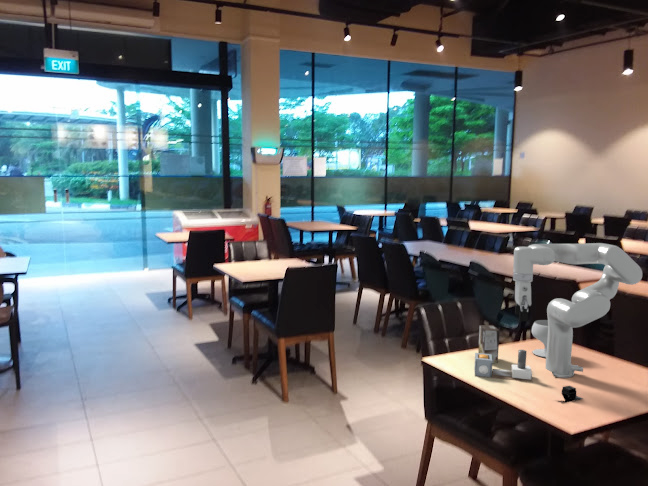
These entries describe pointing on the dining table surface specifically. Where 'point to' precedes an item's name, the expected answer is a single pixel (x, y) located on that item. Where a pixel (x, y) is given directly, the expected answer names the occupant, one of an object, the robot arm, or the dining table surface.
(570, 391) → the black slotted bracket
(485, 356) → the button
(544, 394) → the dining table surface
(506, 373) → the rail board
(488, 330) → the coffee box
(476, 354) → the grey open box
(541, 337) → the chalice
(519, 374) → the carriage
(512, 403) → the dining table surface
